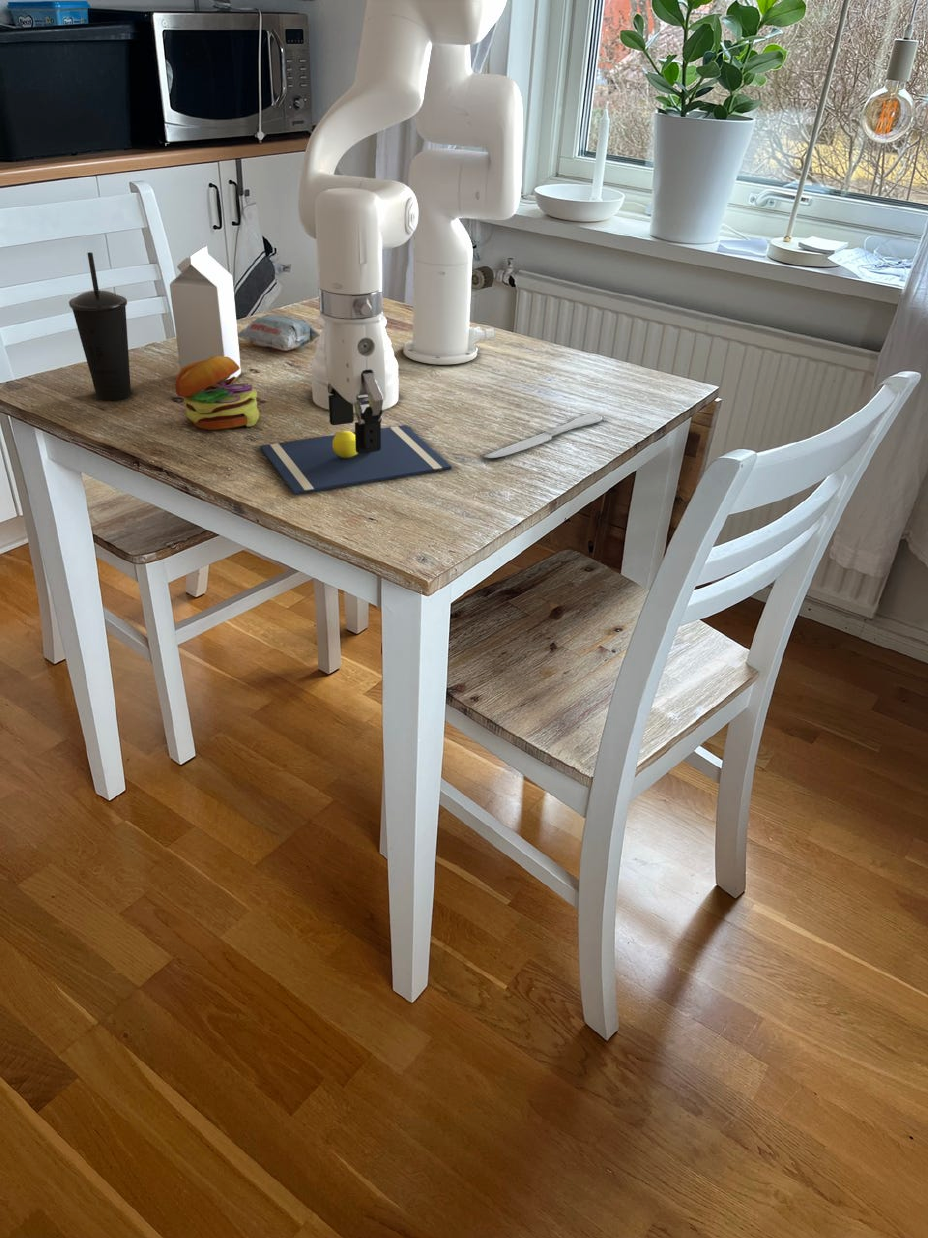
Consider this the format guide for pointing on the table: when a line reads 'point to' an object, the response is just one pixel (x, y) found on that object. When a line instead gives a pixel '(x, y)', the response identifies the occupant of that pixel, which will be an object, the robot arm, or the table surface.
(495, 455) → the butter knife
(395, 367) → the honey pot
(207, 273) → the milk carton
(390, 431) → the dish cloth
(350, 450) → the light bulb
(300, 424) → the table surface
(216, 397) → the cheeseburger
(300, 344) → the packaged food
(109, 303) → the drinking cup
